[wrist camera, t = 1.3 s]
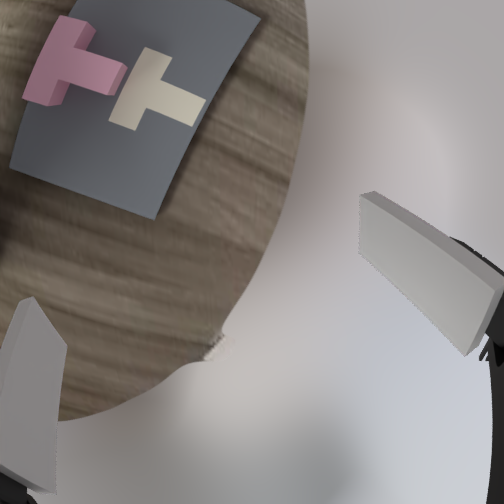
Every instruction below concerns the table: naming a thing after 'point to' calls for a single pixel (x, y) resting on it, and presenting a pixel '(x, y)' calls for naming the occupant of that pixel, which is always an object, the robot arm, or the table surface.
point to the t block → (71, 65)
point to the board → (135, 100)
